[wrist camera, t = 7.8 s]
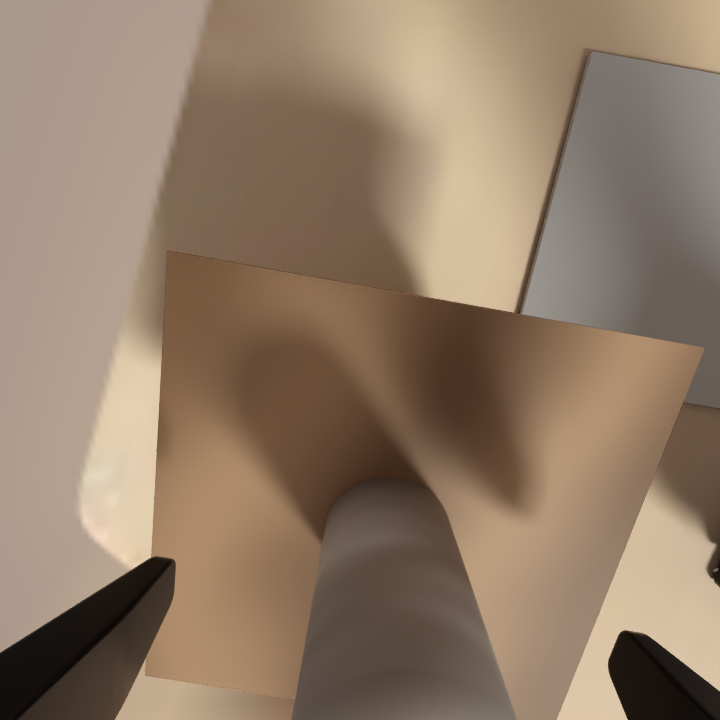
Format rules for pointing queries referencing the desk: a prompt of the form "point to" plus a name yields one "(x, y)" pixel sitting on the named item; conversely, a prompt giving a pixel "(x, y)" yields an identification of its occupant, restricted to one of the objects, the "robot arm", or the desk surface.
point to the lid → (393, 492)
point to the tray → (638, 212)
